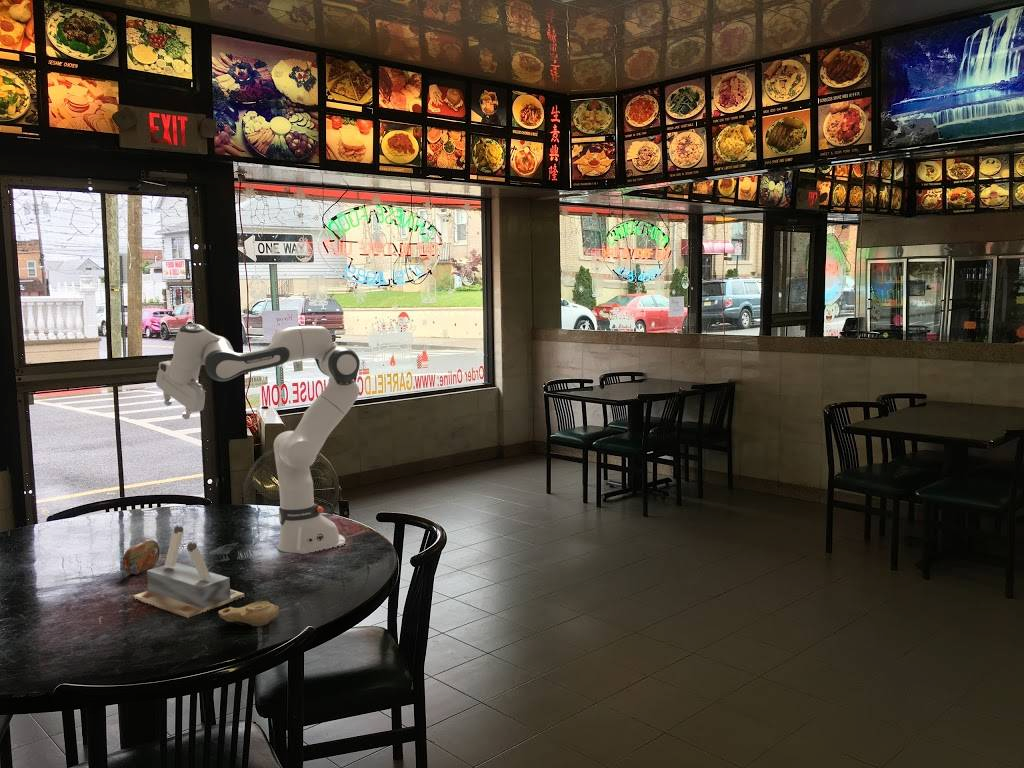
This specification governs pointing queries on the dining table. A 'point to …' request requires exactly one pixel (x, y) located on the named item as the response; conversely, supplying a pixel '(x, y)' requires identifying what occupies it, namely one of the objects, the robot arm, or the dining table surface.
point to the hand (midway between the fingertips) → (176, 411)
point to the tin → (141, 557)
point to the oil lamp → (251, 613)
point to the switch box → (186, 590)
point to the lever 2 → (198, 561)
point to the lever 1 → (174, 546)
